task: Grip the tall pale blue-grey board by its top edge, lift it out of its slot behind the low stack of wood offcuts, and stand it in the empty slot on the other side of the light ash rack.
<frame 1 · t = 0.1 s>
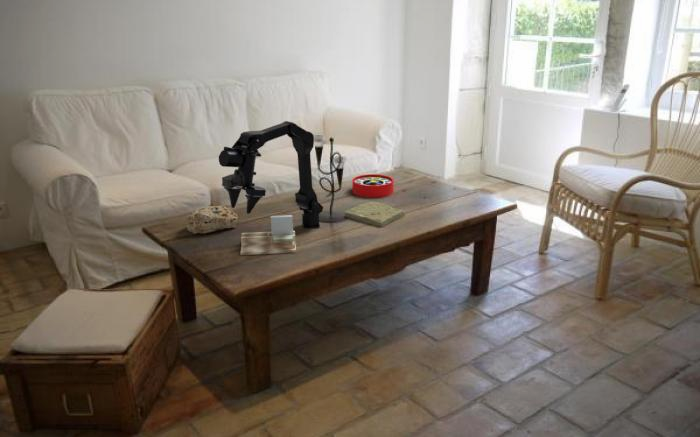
hand: (240, 210, 207), 15 cm above the table, tool pointing down, fingers open, 9 cm apart
rack: (268, 246, 216), on the table
offcut stack: (282, 246, 213), point 1 cm above the table, touching rack
sheet: (282, 241, 218), point 1 cm above the table, touching rack
decorative tile: (375, 217, 247), on the table
rock: (213, 228, 234), on the table
toy clock: (372, 191, 280), on the table
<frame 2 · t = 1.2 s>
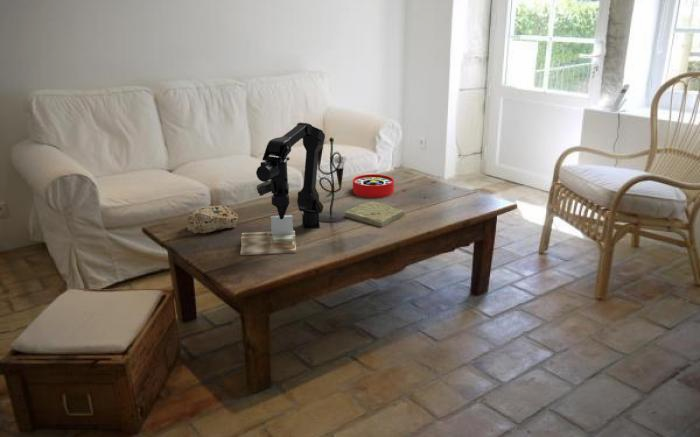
hand: (281, 214, 214), 12 cm above the table, tool pointing down, fingers open, 9 cm apart
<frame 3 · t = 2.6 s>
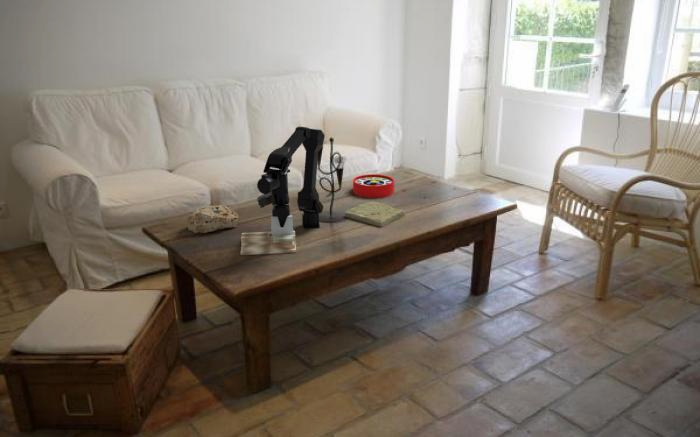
hand: (282, 226, 216), 7 cm above the table, tool pointing down, fingers closed on sheet, 2 cm apart
sheet: (282, 241, 218), point 1 cm above the table, touching gripper, rack
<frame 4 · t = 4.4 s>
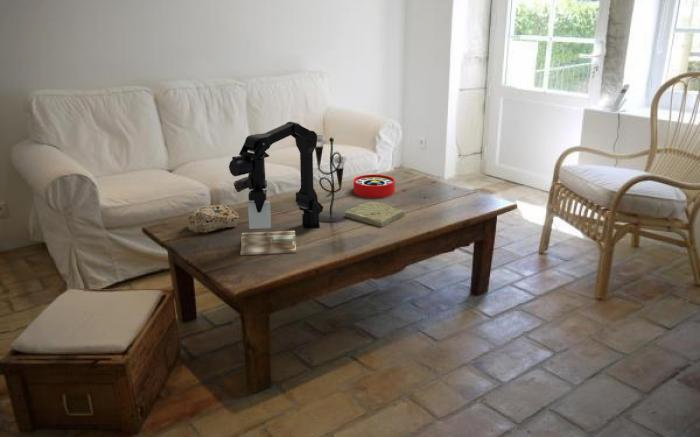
hand: (259, 211, 212), 13 cm above the table, tool pointing down, fingers closed on sheet
sheet: (260, 227, 215), point 7 cm above the table, touching gripper
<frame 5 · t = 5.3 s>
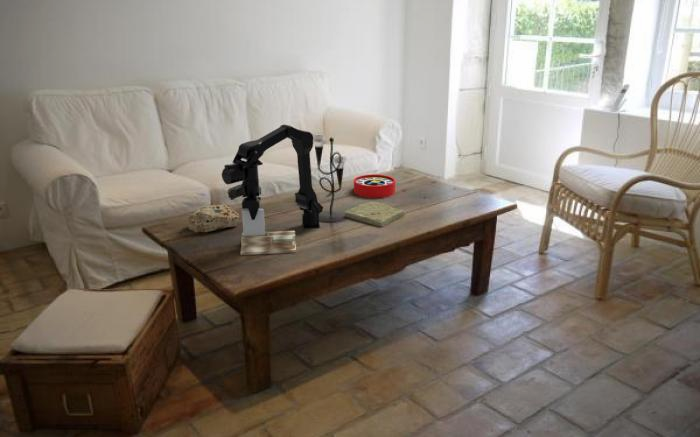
hand: (253, 218, 213), 10 cm above the table, tool pointing down, fingers closed on sheet
sheet: (254, 234, 216), point 4 cm above the table, touching gripper
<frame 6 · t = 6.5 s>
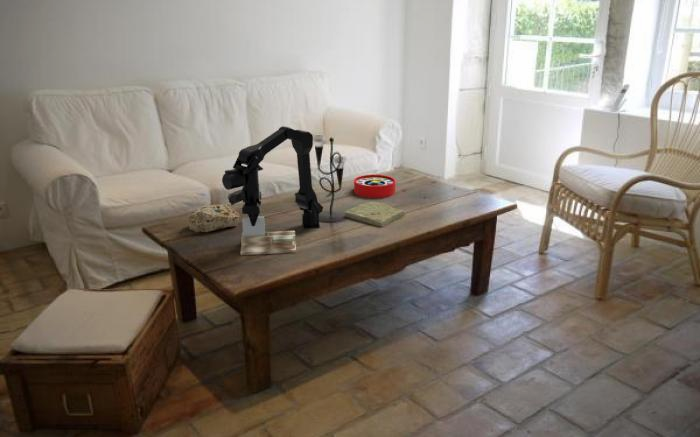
hand: (253, 223, 214), 8 cm above the table, tool pointing down, fingers open, 4 cm apart
sheet: (254, 242, 217), point 1 cm above the table, touching rack
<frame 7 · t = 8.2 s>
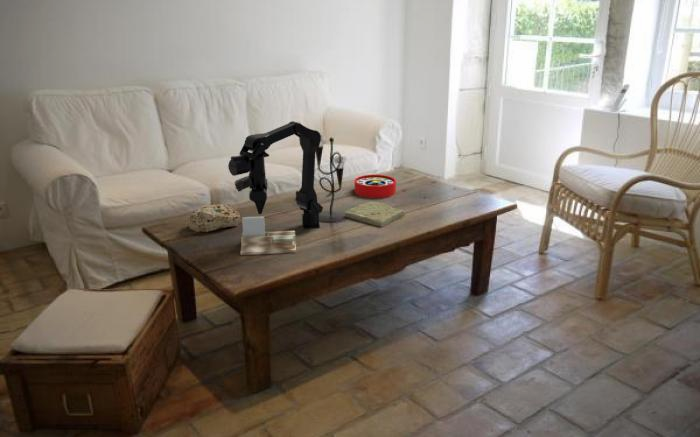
hand: (260, 209, 217), 13 cm above the table, tool pointing down, fingers open, 9 cm apart
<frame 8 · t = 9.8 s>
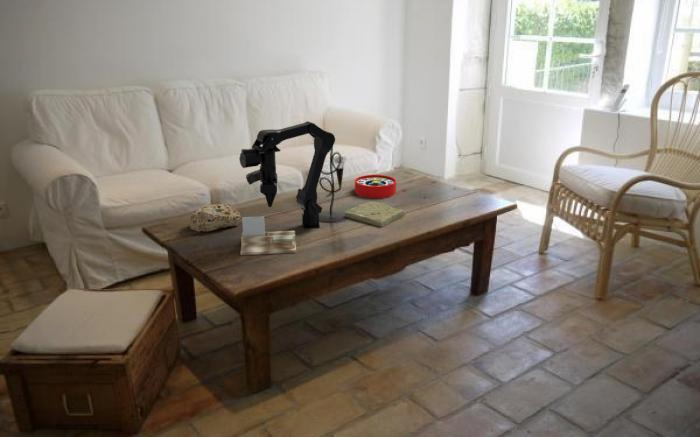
hand: (270, 203, 222), 13 cm above the table, tool pointing down, fingers open, 9 cm apart
at the end: sheet 0.3 cm from the target spot on the rack, point 1.0 cm above the rack's base; sheet tilted 0°; the gripper is holding nothing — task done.
